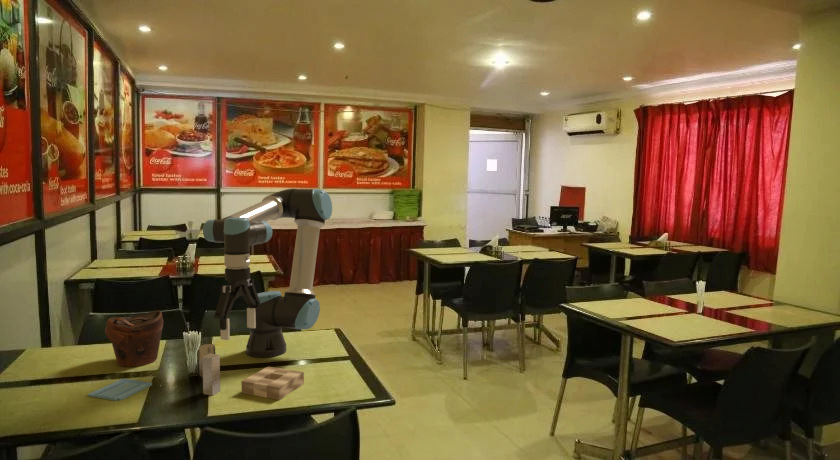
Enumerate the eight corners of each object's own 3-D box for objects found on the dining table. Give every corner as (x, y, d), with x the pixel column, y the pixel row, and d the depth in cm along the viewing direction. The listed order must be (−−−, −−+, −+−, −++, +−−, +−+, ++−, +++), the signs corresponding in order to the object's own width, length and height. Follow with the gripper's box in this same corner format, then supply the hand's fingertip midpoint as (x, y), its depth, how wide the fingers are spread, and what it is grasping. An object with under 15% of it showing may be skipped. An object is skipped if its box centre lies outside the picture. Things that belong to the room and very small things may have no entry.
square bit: (211, 389, 177) (210, 353, 176) (220, 391, 176) (219, 354, 175) (203, 393, 174) (202, 356, 172) (212, 395, 172) (211, 358, 171)
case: (93, 366, 196) (91, 317, 194) (140, 350, 215) (139, 304, 213) (131, 374, 190) (130, 323, 188) (175, 356, 208) (175, 310, 206)
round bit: (206, 371, 193) (206, 343, 192) (219, 373, 192) (218, 345, 191) (196, 376, 188) (195, 347, 187) (208, 378, 187) (207, 349, 186)
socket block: (268, 377, 188) (267, 366, 187) (303, 383, 183) (303, 372, 182) (241, 393, 175) (241, 381, 174) (279, 400, 170) (279, 387, 169)
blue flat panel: (118, 402, 168) (118, 398, 167) (87, 397, 171) (87, 393, 171) (152, 386, 180) (152, 382, 180) (123, 381, 184) (123, 378, 184)
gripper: (222, 274, 159) (223, 346, 161) (270, 261, 183) (271, 324, 185) (200, 272, 161) (202, 343, 164) (250, 260, 185) (251, 322, 187)
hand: (238, 333), depth 174 cm, fingers open, 13 cm apart
